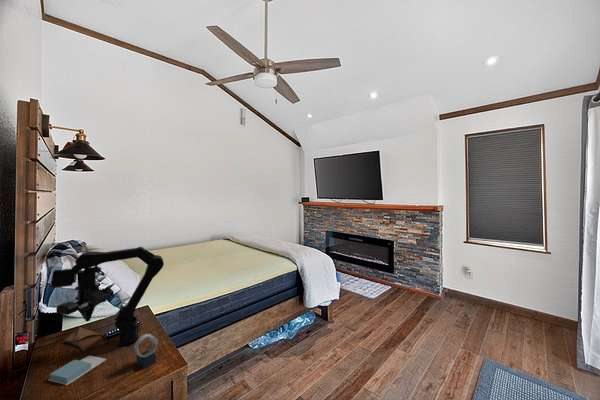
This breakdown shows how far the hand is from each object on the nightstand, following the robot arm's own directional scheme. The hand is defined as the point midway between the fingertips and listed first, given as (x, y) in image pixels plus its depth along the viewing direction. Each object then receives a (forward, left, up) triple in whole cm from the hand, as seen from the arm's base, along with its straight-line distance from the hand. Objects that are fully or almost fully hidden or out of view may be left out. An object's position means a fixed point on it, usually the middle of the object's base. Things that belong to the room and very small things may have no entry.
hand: (87, 320), depth 107 cm
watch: (-1, +28, -13) cm, 31 cm away
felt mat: (+9, +7, -13) cm, 18 cm away
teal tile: (+8, +7, -12) cm, 16 cm away
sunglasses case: (-5, -10, -14) cm, 17 cm away
